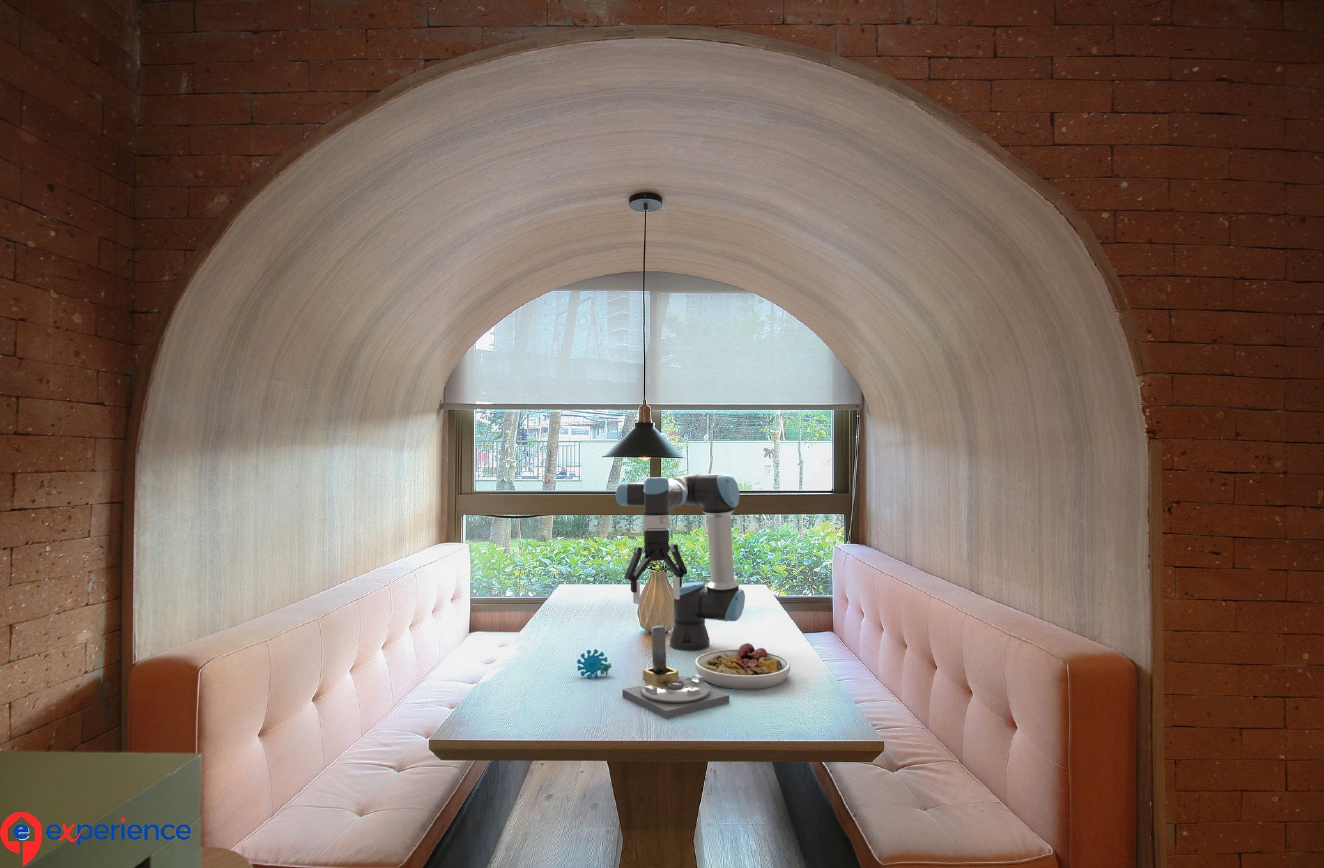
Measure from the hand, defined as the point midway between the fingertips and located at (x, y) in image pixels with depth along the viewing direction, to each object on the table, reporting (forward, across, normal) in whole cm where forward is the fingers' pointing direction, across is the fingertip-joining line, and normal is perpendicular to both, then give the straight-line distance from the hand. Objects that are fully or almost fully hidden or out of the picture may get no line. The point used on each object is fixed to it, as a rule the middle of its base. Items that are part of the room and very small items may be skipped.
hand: (656, 601), depth 202 cm
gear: (+27, -9, +26) cm, 38 cm away
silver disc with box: (+25, +2, -6) cm, 26 cm away
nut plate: (+27, +2, -7) cm, 28 cm away
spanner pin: (+24, +1, 0) cm, 24 cm away
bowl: (+28, +32, +1) cm, 42 cm away
